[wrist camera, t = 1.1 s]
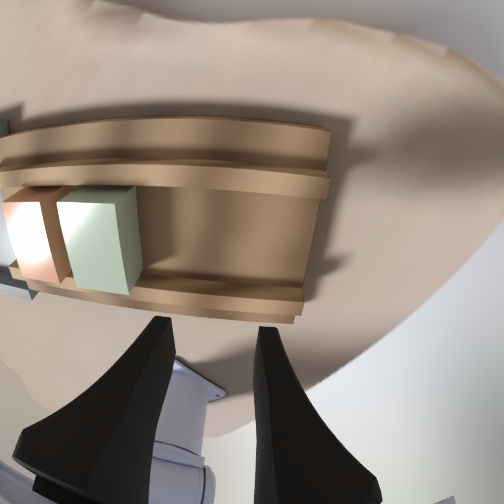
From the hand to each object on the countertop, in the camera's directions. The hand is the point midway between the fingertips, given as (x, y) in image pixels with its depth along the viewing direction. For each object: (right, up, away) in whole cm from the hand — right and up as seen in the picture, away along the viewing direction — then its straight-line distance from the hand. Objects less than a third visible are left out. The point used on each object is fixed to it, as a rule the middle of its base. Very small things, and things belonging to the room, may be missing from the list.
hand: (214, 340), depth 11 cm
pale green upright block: (-8, +5, +7) cm, 12 cm away
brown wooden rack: (-7, +6, +9) cm, 13 cm away
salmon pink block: (-13, +5, +7) cm, 16 cm away
